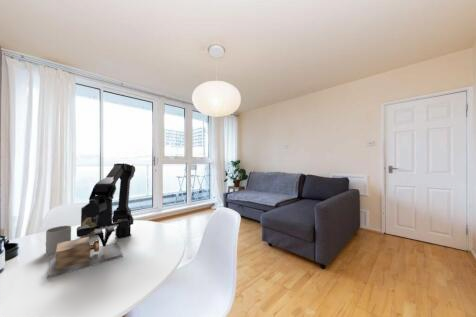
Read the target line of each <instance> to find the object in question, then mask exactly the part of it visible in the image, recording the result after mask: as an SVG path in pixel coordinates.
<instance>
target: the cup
mask: <svg viewBox="0 0 476 317" xmlns="http://www.w3.org/2000/svg"><path fill="white" fill-rule="evenodd" d="M45 233H46V234H45V254H46V255H47V256H54V255H56V249H57V243H61V242H66V241H71V240H72V226H71V225H62V226H61V225H60V226H55V227H51V228H48V229H47V230H46V232H45Z"/></svg>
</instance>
